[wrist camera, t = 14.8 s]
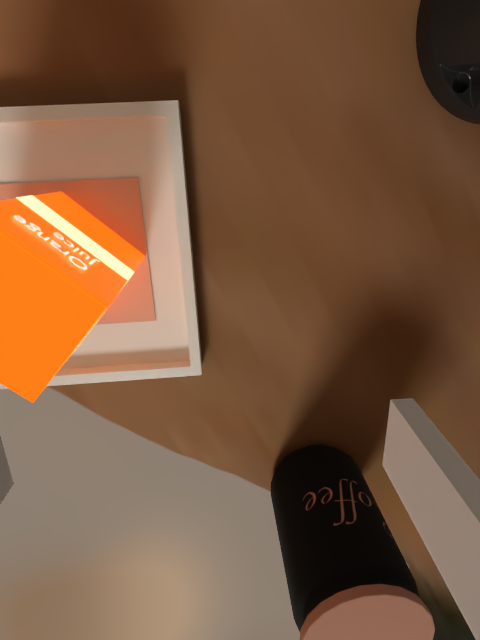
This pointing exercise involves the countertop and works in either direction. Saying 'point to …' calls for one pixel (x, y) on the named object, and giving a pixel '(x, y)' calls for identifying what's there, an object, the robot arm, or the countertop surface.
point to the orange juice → (53, 284)
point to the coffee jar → (342, 554)
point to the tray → (118, 225)
